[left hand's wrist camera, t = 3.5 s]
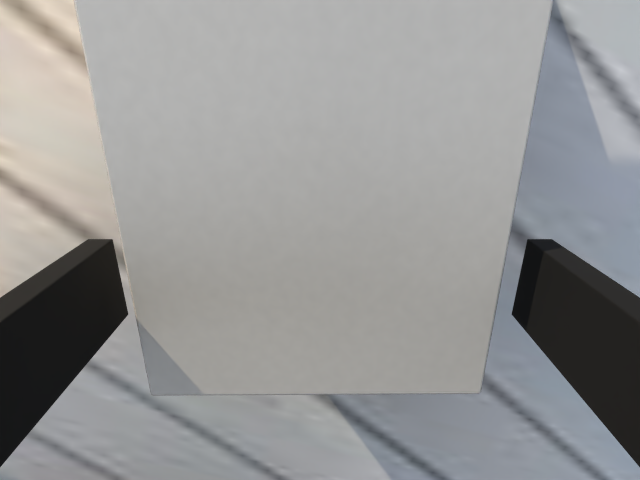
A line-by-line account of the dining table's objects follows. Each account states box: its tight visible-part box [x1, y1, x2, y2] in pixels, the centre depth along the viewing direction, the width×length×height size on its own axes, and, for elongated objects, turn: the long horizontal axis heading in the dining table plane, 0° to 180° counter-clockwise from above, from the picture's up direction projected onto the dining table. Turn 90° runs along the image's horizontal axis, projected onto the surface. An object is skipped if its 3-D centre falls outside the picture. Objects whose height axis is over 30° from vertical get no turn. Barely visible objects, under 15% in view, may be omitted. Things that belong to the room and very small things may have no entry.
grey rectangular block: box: [74, 0, 554, 395], centre depth 14 cm, size 20×10×11 cm, turn 0°
